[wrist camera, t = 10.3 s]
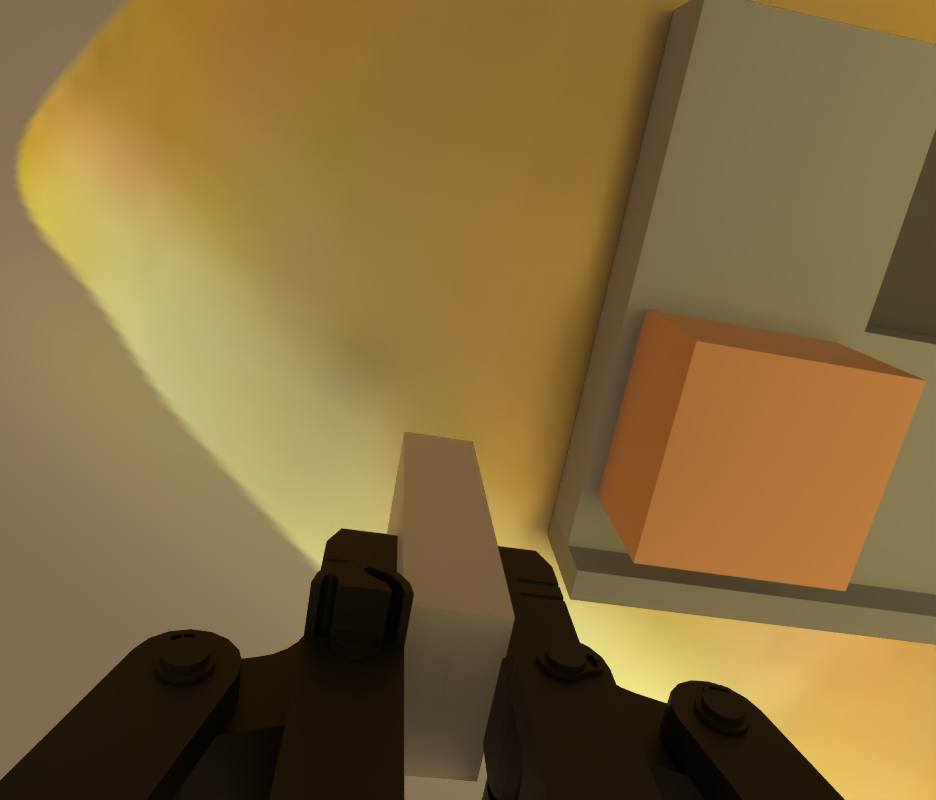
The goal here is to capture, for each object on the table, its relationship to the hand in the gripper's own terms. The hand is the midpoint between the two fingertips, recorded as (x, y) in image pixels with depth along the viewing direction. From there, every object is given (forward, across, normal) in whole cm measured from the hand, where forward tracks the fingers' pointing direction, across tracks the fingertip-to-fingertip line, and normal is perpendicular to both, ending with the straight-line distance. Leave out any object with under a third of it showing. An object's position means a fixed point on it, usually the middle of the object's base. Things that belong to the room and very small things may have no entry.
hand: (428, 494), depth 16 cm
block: (+6, +9, +1) cm, 11 cm away
